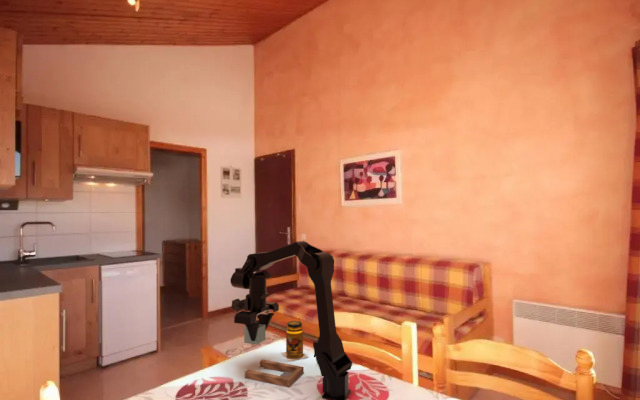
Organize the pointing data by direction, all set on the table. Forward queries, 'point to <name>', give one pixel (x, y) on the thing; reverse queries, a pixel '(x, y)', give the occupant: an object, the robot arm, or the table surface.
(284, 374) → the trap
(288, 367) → the channel
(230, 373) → the table surface
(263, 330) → the block
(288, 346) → the condiment
